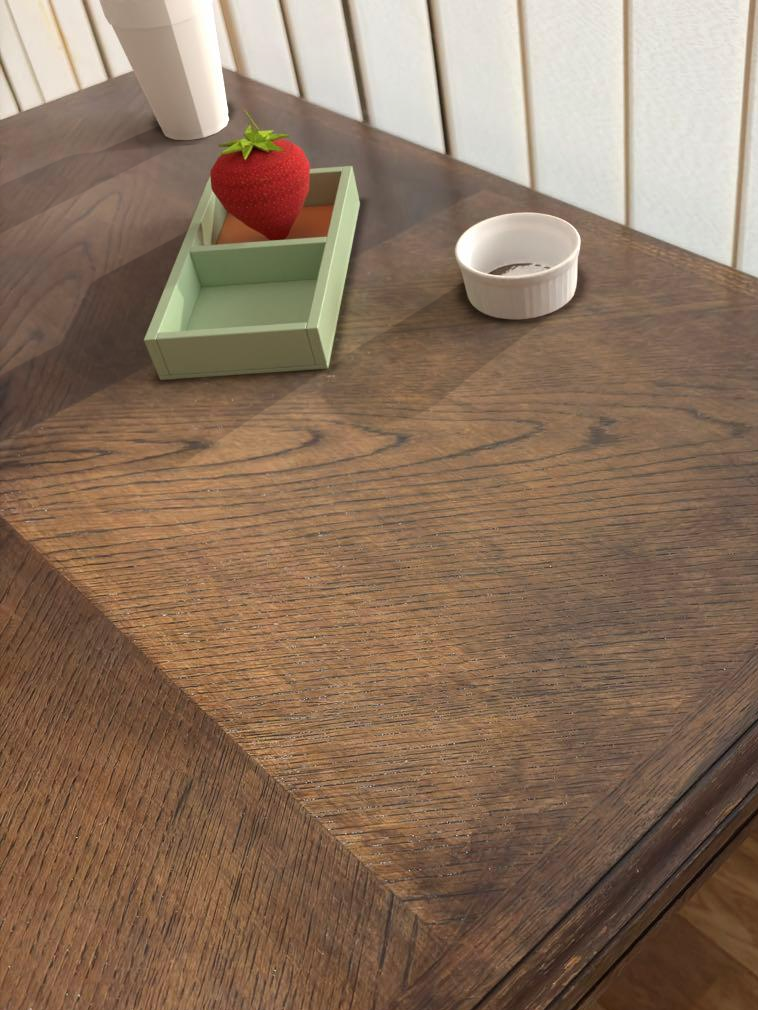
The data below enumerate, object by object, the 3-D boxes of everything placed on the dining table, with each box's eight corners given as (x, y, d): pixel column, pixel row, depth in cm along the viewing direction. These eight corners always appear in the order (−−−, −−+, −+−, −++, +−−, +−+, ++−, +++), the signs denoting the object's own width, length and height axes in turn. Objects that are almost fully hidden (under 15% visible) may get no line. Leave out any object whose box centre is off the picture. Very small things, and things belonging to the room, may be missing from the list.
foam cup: (217, 94, 106) (176, -47, 97) (262, 123, 101) (224, -24, 92) (129, 127, 103) (78, -18, 93) (172, 158, 97) (122, 8, 88)
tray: (162, 388, 73) (143, 339, 70) (223, 221, 89) (209, 176, 86) (330, 376, 73) (317, 327, 70) (361, 210, 88) (352, 165, 85)
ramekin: (444, 323, 76) (436, 270, 73) (485, 257, 82) (479, 205, 79) (563, 338, 74) (560, 284, 71) (596, 269, 80) (594, 216, 77)
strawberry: (221, 238, 84) (181, 114, 77) (309, 209, 87) (279, 86, 79) (244, 271, 81) (205, 144, 73) (336, 240, 83) (307, 114, 76)
